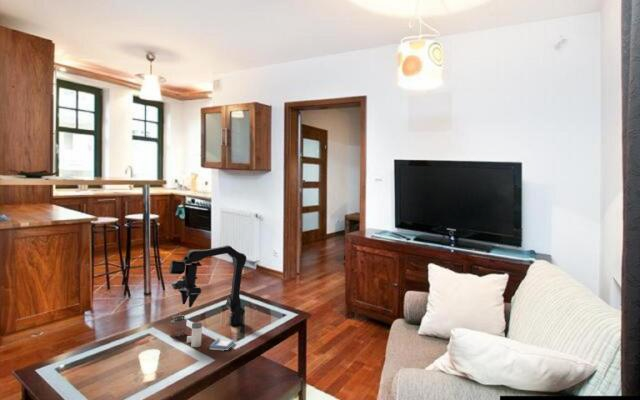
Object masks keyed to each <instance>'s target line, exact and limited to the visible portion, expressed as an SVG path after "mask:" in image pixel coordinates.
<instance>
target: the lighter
mask: <svg viewBox="0 0 640 400" xmlns="http://www.w3.org/2000/svg"><path fill="white" fill-rule="evenodd" d="M185 317H186V315H185V314H178V315H173V316H172V317H171V319H172V320H170V332H169V333H170V334H169V338H176V337H175V336H178V337H180V336H179V335H182V334H185V333H186V334H187V322H188V318H185ZM186 334H185V335H186ZM182 336H183V335H182Z"/></svg>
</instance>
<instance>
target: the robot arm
mask: <svg viewBox="0 0 640 400" xmlns="http://www.w3.org/2000/svg"><path fill="white" fill-rule="evenodd" d="M226 254H227V255H228V256H229V257H231V258H232V260H231V261H232V266H233V275H232V282H231V291H230V292H231V293H230V295H229V296H226V303H225V305H226V308H227V310H229V311H230V315H229V320H228V321H229V322H228V323H229V325H230V326H231V327H240V326H244V325H245V323H244V314H245V312H246V310H245V309H243V308H242V302H241V297H240V296H241V295H240V293H241V282H242V274H243V269H244V267H245V265H246V262H247V256H246V255H245V253H242V252H240V251H237V250H236V249H235V248H233V247H232V246H231V245H224V246H218V247H212V248H209V249H190V250H187V253H186V255H185V256H184V257H183V258H182V259H181V260H171V263H170V265H169V268H168V272H169V275H182V274H184V276H182V278H181V279H178V280H175V281H172V282H171V287H172V290H175V291H176V290H177V291H178V293H180V296H181V303H182V305H186V303H187V300H188V308H192V306H193V305H194V303H195V301H196V300H197V298H198V297H199V295H200V294H202V289H201V288H200V287H199V286H197V284H196V281H197V280H198V276H197V273H198V267H202V264H201V262H200V261H202V260H204V259H206V258H210V257H215V256H220V255H226Z"/></svg>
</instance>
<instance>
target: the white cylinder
mask: <svg viewBox="0 0 640 400" xmlns="http://www.w3.org/2000/svg"><path fill="white" fill-rule="evenodd" d="M202 326H203V323H202V322H200V321H199V322H197V321H196V322H193V323H191V336H192V337H191V342H190V347H192V348H199V347H201V345H202V332H203V330H202V329H203V327H202Z"/></svg>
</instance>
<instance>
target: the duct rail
mask: <svg viewBox="0 0 640 400" xmlns="http://www.w3.org/2000/svg"><path fill="white" fill-rule="evenodd" d="M191 337H192V335H188V336H186V343H191Z"/></svg>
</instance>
